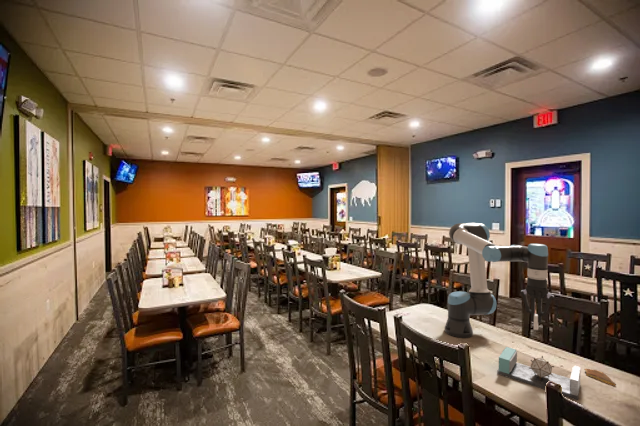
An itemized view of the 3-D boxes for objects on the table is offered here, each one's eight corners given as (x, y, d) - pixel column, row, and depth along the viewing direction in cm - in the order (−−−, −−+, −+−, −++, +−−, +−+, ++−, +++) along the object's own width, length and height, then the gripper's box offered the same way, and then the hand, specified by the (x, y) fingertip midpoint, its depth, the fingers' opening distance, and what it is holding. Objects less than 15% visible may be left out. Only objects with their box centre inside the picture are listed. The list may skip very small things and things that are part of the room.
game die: (546, 387, 131) (562, 376, 125) (525, 378, 133) (540, 366, 127) (542, 368, 138) (556, 356, 132) (522, 359, 140) (536, 347, 134)
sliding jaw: (506, 359, 147) (506, 346, 147) (517, 362, 144) (517, 349, 144) (498, 370, 137) (498, 357, 137) (510, 374, 134) (510, 360, 134)
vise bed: (504, 362, 148) (505, 346, 148) (580, 384, 129) (580, 367, 129) (497, 373, 138) (497, 357, 137) (577, 400, 119) (578, 380, 119)
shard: (616, 388, 128) (616, 383, 128) (593, 384, 130) (593, 380, 130) (602, 374, 138) (602, 370, 138) (581, 371, 140) (581, 367, 140)
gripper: (519, 277, 144) (517, 327, 144) (554, 281, 135) (552, 335, 136) (521, 274, 149) (520, 322, 150) (555, 278, 141) (554, 330, 141)
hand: (535, 328), depth 143 cm, fingers closed
